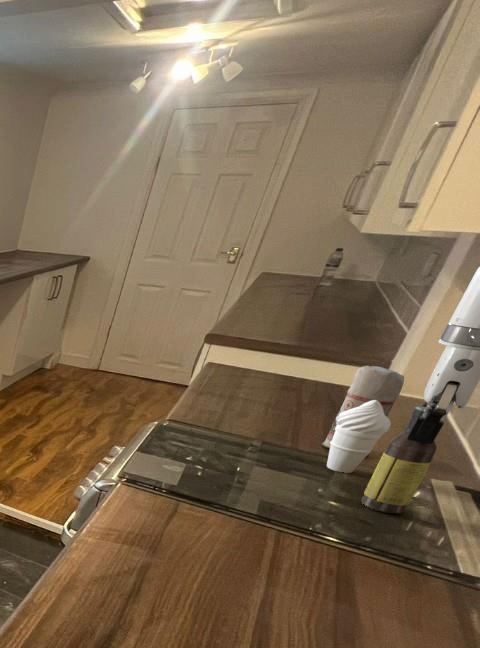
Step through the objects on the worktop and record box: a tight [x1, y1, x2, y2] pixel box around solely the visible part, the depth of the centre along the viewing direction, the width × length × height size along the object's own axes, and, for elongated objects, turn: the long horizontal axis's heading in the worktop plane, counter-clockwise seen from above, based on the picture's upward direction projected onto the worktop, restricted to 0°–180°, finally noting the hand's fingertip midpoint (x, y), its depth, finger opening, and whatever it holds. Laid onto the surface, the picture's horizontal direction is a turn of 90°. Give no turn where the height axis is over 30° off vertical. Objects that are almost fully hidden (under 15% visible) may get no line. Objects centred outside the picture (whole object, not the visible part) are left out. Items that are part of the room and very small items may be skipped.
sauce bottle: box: [361, 406, 437, 514], centre depth 108 cm, size 6×6×20 cm
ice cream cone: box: [326, 400, 392, 474], centre depth 124 cm, size 8×8×16 cm
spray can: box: [321, 365, 405, 449], centre depth 134 cm, size 8×8×20 cm
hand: (419, 436), depth 105 cm, fingers closed on sauce bottle, 4 cm apart
